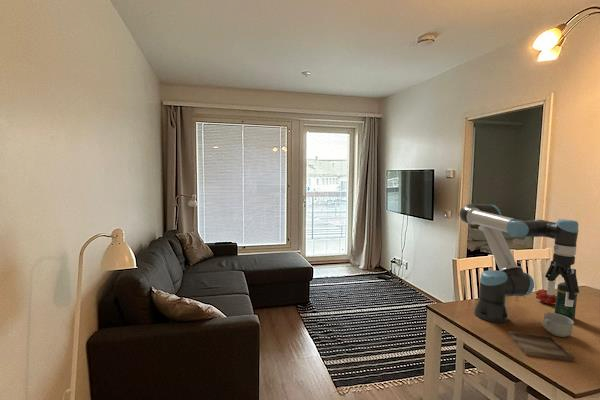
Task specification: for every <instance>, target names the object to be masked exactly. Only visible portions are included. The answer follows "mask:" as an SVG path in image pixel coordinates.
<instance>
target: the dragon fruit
mask: <svg viewBox="0 0 600 400" xmlns="http://www.w3.org/2000/svg"><path fill="white" fill-rule="evenodd" d="M535 295H536V296H535V298H536V299H537V300H540V302H541V303H542V304H544V303H545V304H548V305H549V306H555V305H554V304H556V297H557V295H556V294H555V293H554V295H548V294H547V290H546V289H545V288H541V289H538V290H536V292H535Z"/></svg>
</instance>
